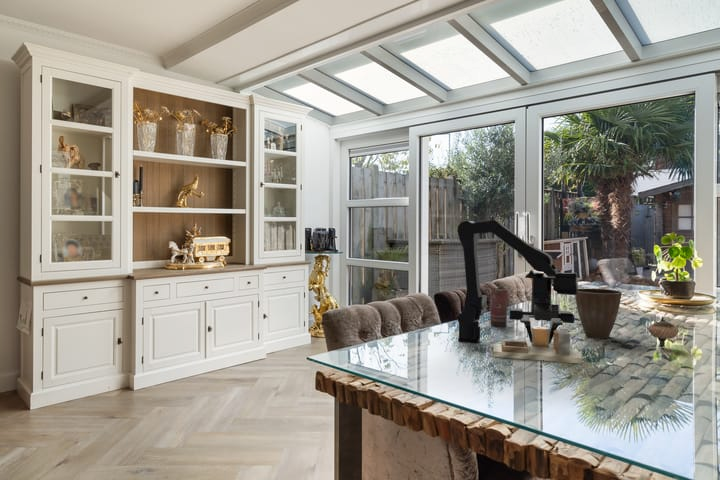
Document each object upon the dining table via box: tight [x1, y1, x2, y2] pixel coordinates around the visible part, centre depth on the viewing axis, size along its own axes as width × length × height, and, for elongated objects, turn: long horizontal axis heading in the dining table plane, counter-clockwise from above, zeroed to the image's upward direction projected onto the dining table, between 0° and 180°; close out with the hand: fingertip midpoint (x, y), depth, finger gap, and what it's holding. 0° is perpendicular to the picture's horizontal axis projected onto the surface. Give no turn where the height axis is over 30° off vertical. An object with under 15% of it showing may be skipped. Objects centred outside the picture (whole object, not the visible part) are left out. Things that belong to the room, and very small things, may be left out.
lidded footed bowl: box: [647, 316, 679, 349], centre depth 155 cm, size 8×8×10 cm
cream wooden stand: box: [492, 329, 584, 364], centre depth 144 cm, size 24×10×8 cm, turn 75°
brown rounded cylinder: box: [489, 288, 509, 327], centre depth 189 cm, size 6×6×14 cm
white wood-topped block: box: [530, 325, 550, 348], centre depth 152 cm, size 4×5×6 cm
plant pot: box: [574, 288, 622, 339], centre depth 171 cm, size 15×15×16 cm
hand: (540, 342), depth 152 cm, fingers closed on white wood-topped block, 5 cm apart
